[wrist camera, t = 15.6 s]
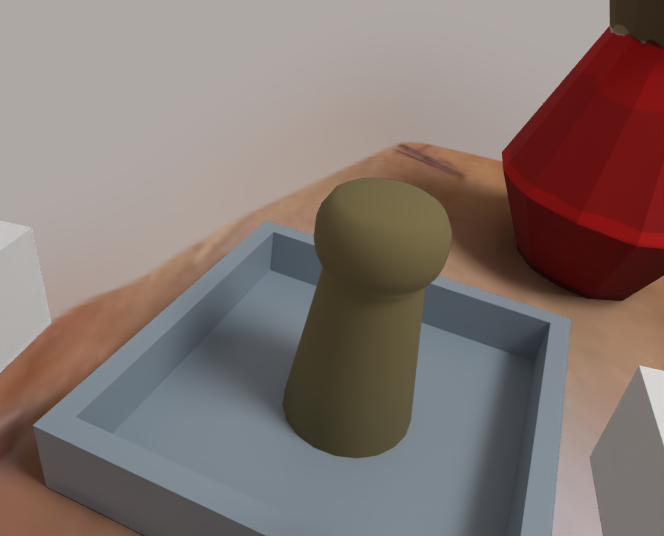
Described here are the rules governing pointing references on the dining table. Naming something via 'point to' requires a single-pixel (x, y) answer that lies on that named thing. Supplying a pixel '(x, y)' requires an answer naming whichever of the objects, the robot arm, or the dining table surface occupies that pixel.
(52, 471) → the tray
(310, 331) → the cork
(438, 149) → the dining table surface
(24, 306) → the robot arm
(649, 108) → the bottle
